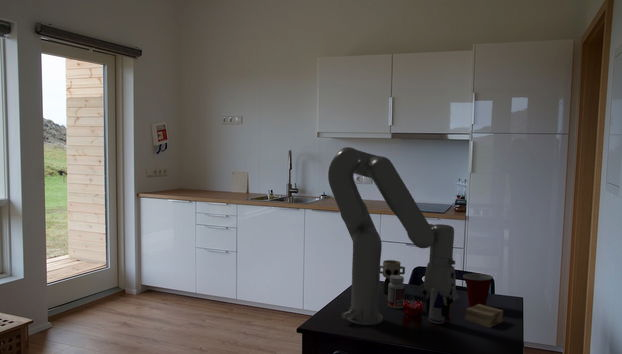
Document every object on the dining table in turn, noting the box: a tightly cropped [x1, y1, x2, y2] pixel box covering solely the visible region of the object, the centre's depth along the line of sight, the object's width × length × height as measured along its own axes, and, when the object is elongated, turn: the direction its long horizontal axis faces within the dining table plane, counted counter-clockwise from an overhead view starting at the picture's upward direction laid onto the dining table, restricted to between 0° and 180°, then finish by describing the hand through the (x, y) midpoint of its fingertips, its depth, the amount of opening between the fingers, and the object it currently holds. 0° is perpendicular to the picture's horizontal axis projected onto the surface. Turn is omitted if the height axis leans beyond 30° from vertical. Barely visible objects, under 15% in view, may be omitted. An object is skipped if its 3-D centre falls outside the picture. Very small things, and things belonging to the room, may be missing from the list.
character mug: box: [380, 259, 406, 294], centre depth 196 cm, size 11×7×13 cm, turn 86°
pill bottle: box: [387, 274, 406, 310], centre depth 179 cm, size 6×6×11 cm
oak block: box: [465, 304, 504, 328], centre depth 166 cm, size 9×9×4 cm
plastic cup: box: [462, 273, 494, 308], centre depth 182 cm, size 11×11×12 cm
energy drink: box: [428, 287, 446, 325], centre depth 163 cm, size 5×5×12 cm
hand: (437, 312), depth 163 cm, fingers closed on energy drink, 5 cm apart
